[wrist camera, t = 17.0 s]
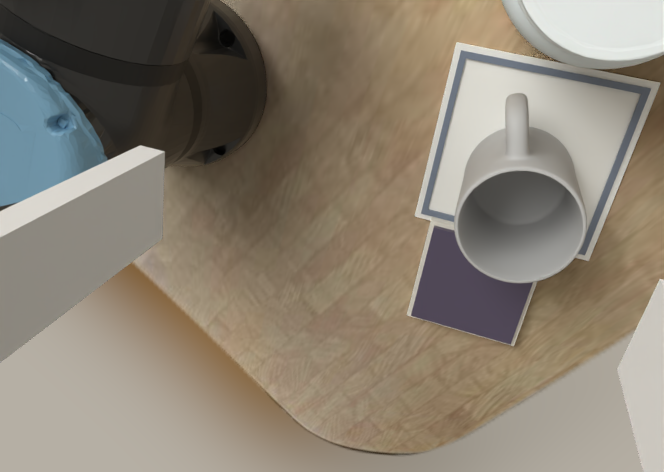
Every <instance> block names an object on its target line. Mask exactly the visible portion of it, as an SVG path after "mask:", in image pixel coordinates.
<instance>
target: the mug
mask: <svg viewBox="0 0 664 472" xmlns="http://www.w3.org/2000/svg"><path fill="white" fill-rule="evenodd" d="M505 126H506V128H504V129H501V130H499V131H496V132H494V133H492V134H490V135H489V136H487V137H486V138H485V139H483V140H482V141H481V142H480V143H479V144H478V145H477V146H476V148H475V149H474V150H473V152H472V153H471V155H470V157H469V159H468V161H467V164H466V167H465V172H464V178H463V182H462V186H461V190H460V194H459V198H458V202H457V206H456V211H455V217H454V231H455V237H456V240H457V243H458V246H459V248H460V250H461V252H462V253H463V255H464V256H465V258H466V259H467V260H468V261H469V262H470V263H471V264H472V265H473V266H474V267H475V268H476V269H478V270H479V271H480V272H482V273H484V274H485V275H487V276H489V277H491V278H494V279H497V280H500V281H504V282H509V283H531V282H537V281H540V280H544V279H546V278H549V277H551V276H553V275H555V274H557V273H559V272H560V271H561V270H563V269H564V268H566V267H567V266H568V265H569V264H570V263H571V262H572V261H573V260H574V258H575V257H576V256H577V254H578V253H579V251H580V249H581V248H582V245H583V243H584V240H585V237H586V231H587V215H586V209H585V205H584V202H583V198H582V195H581V191H580V188H579V185H578V181H577V178H576V174H575V169H574V165H573V162H572V159H571V156H570V155H569V153H568V151H567V149H566V148H565V147H564V145H563V144H562V143H561V142H560V141H559V140H558V139H557V138H555V137H554V136H553V135H551V134H549V133H548V132H546V131H543V130H541V129H538V128H534V127H529V111H528V99H527V96H526V95H525V94H522V93H514V94H511V95H509V96H508V97H507V98H506V105H505Z"/></svg>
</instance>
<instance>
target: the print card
mask: <svg viewBox="0 0 664 472" xmlns="http://www.w3.org/2000/svg"><path fill="white" fill-rule="evenodd" d="M660 84H661V83H660V82H655V81H650V80H645V79H640V78H635V77H630V76H625V75H620V74H615V73H610V72H605V71H600V70H595V69H590V68H582V67H576V66H572V65H569V64H565V63H560V62H555V61H550V60H545V59H540V58H535V57H530V56H525V55H520V54H515V53H510V52H505V51H500V50H495V49H490V48H485V47H480V46H475V45H470V44H464V43H459V42H456V46H455V50H454V54H453V59H452V63H451V67H450V71H449V75H448V79H447V84H446V88H445V92H444V96H443V100H442V104H441V108H440V113H439V117H438V121H437V125H436V129H435V133H434V137H433V142H432V146H431V150H430V154H429V158H428V162H427V167H426V171H425V175H424V179H423V183H422V187H421V191H420V196H419V200H418V204H417V208H416V212H415V217H418V218H422V219H426V220H430V221H431V218H432V217H436V218H440V219H444V220H448V221H452V222H454V217H455V211H456V206H457V202H458V198H459V194H460V190H461V186H462V182H463V178H464V172H465V167H466V164H467V161H468V159H469V157H470V155H471V153H472V152H473V150H474V149H475V148H476V146H477V145H478V144H479V143H480V142H481V141H482V140H483V139H485V138H486V137H487V136H489V135H490V134H492V133H494V132H496V131H499V130H501V129H504V128H506V126H505V105H506V98H507V97H508V96H509V95H511V94H514V93H522V94H525V95H526V96H527V99H528V111H529V127H534V128H538V129H541V130H543V131H546V132H548V133H549V134H551V135H553V136H554V137H555V138H557V139H558V140H559V141H560V142H561V143H562V144H563V145H564V147H565V148H566V149H567V151H568V153H569V155H570V156H571V159H572V162H573V165H574V169H575V174H576V178H577V181H578V185H579V188H580V191H581V195H582V198H583V202H584V205H585V209H586V215H587V231H586V237H585V240H584V243H583V245H582V248H581V249H580V251H579V253H578V254H577V256H576V257H575V258H578V259H582V260H586V261H589V259H590V257H591V254H592V252H593V249H594V247H595V245H596V242H597V240H598V237H599V235H600V232H601V230H602V227H603V225H604V222H605V220H606V217H607V215H608V212H609V210H610V207H611V205H612V202H613V200H614V198H615V195H616V193H617V190H618V188H619V185H620V183H621V180H622V178H623V175H624V173H625V170H626V168H627V165H628V163H629V160H630V158H631V155H632V153H633V150H634V148H635V146H636V143H637V141H638V138H639V136H640V133H641V131H642V128H643V126H644V123H645V121H646V118H647V116H648V113H649V111H650V108H651V106H652V103H653V101H654V99H655V96H656V94H657V91H658V89H659V86H660Z"/></svg>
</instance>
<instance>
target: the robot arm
mask: <svg viewBox="0 0 664 472" xmlns="http://www.w3.org/2000/svg"><path fill="white" fill-rule="evenodd" d="M265 100H266V74H265V68H264V63H263V60H262V56H261V53H260V50H259V48H258V46H257V43H256V41H255V39H254V37H253V36H252V34H251V32H250V31H249V29H248V28H247V26H246V25H245V24H244V22H243V21H242V20H241V19H240V18H239V16H238V15H237V14H236V13H235V12H234V11H233V10H232V9H230V8H229V7H228V6H227V5H225V4H224V3H223V2H221V1H220V0H0V362H2V361H3V360H4V359H6V358H7V357H8V356H10V355H11V354H12V353H13V352H15V351H16V350H17V349H19V348H20V347H21V346H23V345H24V344H25V343H27V342H28V341H29V340H31V339H32V338H33V337H34V336H36V335H37V334H38V333H40V332H41V331H42V330H43V329H45V328H46V327H48V326H49V325H50V324H51V323H53V322H54V321H55V320H57V319H58V318H59V317H61V316H62V315H63V314H65V313H66V312H67V311H68V310H70V309H71V308H72V307H74V306H75V305H76V304H77V303H79V302H80V301H82V300H83V299H84V298H85V297H87V296H88V295H89V294H91V293H92V292H93V291H94V290H96V289H97V288H98V287H100V286H101V285H102V284H104V283H105V282H106V281H108V280H109V279H110V278H112V277H113V276H114V275H116V274H117V273H118V272H119V271H121V270H122V269H123V268H125V267H126V266H127V265H129V264H130V263H131V262H133V261H134V260H135V259H136V258H138V257H139V256H140V255H142V254H143V253H144V252H146V251H147V250H148V249H150V248H151V247H152V246H153V245H155V244H156V243H157V242H159V241H160V240H161V239H162V236H163V201H164V168H166V167H168V166H201V165H206V164H210V163H213V162H216V161H218V160H220V159H223V158H224V157H226V156H228V155H229V154H231V153H232V152H234V151H235V150H237V149H238V148H240V147H241V146H242V145H243V144H244V143H245V142H246V141H247V140H248V139H249V138H250V137H251V135H252V134H253V132H254V131H255V129H256V127H257V126H258V124H259V122H260V119H261V116H262V113H263V110H264V106H265ZM617 371H618V375H619V379H620V383H621V387H622V391H623V394H624V398H625V402H626V406H627V410H628V414H629V418H630V422H631V426H632V430H633V434H634V438H635V442H636V446H637V449H638V454H639V457H640V462H641V465H642V469H643V472H664V280H662V279H660V280H659V282H658V284H657V286H656V288H655V290H654V292H653V295H652V297H651V299H650V301H649V303H648V305H647V307H646V309H645V311H644V313H643V316H642V318H641V320H640V322H639V324H638V326H637V328H636V330H635V332H634V335H633V337H632V339H631V341H630V343H629V345H628V347H627V349H626V352H625V354H624V356H623V358H622V360H621V362H620V364H619V366H618V368H617Z"/></svg>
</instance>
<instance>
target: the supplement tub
mask: <svg viewBox="0 0 664 472" xmlns="http://www.w3.org/2000/svg"><path fill="white" fill-rule="evenodd" d="M502 3H503V6H504V8H505V10H506V12H507V14H508V16H509V18H510V20H511V21H512V23H513V24H514V26H515V27H516V29H517V30H518V31H519V32H520V34H521V35H522V36H523V37H524V38H525V39H526V40H527V41H528V42H529V43H530V44H531V45H532V46H534V47H535V48H536V49H538V50H539V51H541V52H542V53H544V54H545V55H547V56H549V57H551V58H553V59H555V60H557V61H560V62H562V63H566V64H569V65H572V66H576V67H582V68H590V69H615V68H622V67H629V66H633V65H638V64H641V63H644V62H647V61H650V60H653V59H655V58H658V57H660V56H662V55H664V0H502Z"/></svg>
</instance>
